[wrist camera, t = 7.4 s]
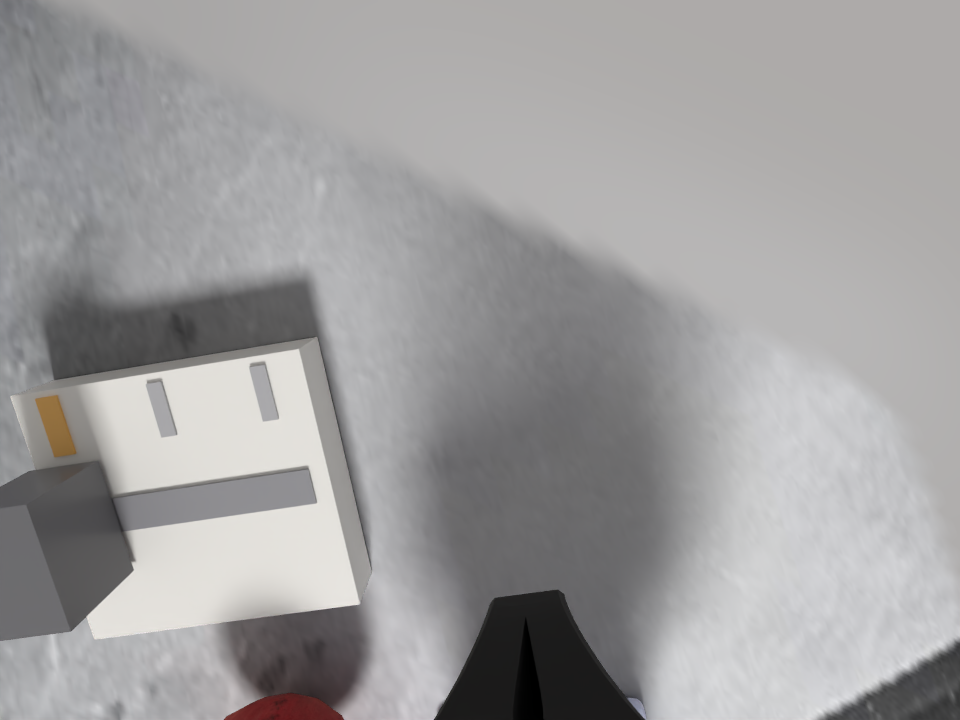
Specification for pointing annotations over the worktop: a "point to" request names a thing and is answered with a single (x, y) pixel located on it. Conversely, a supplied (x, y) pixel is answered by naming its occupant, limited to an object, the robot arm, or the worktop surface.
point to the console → (212, 484)
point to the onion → (286, 709)
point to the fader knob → (57, 549)
